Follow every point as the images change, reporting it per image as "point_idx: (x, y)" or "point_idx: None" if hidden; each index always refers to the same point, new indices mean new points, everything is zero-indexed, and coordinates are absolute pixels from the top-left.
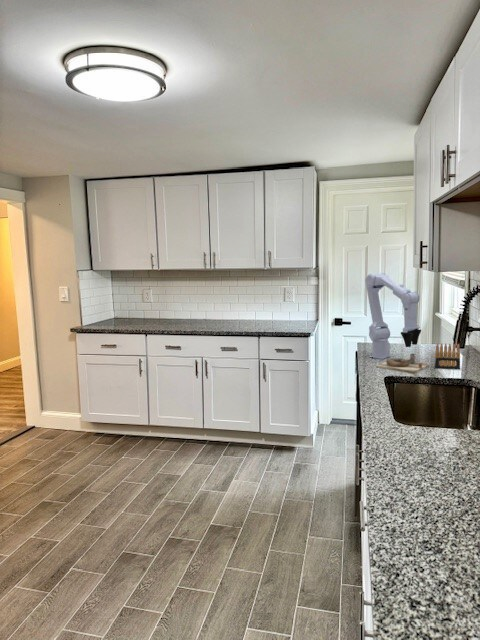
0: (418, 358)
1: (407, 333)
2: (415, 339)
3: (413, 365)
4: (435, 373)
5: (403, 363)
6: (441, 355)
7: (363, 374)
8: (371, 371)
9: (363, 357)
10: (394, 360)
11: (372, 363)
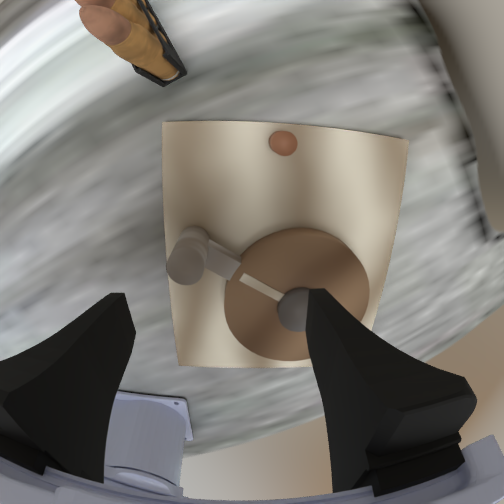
0: (35, 274)
1: (453, 433)
2: (102, 344)
3: (256, 202)
4: (322, 27)
5: (346, 247)
6: (139, 13)
7: (477, 322)
8: (434, 328)
9: (209, 446)
10: None
11: (291, 395)
